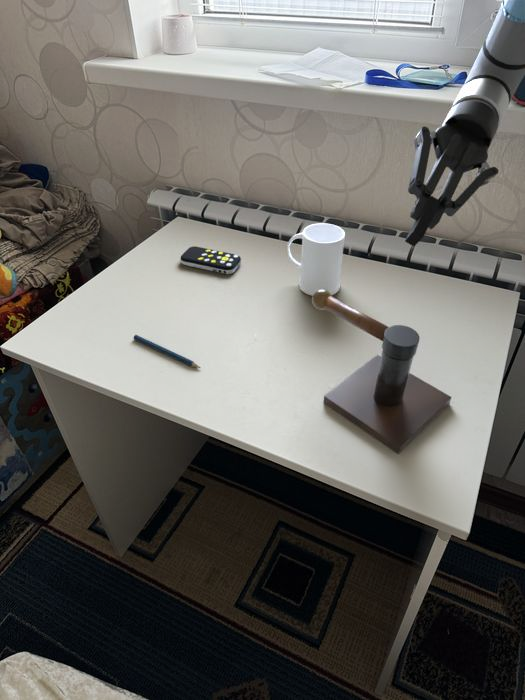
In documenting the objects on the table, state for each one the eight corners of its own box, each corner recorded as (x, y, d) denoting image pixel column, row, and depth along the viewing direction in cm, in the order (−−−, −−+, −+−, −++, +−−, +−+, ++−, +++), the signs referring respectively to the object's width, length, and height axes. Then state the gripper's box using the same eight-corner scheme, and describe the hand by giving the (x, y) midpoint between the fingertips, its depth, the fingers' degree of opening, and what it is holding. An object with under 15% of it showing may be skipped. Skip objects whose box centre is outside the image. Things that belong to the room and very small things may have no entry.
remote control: (191, 251, 115) (190, 243, 114) (243, 262, 112) (243, 254, 110) (178, 264, 111) (177, 256, 109) (231, 276, 107) (231, 268, 106)
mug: (277, 284, 105) (278, 231, 97) (298, 265, 111) (300, 214, 103) (328, 302, 100) (333, 248, 92) (347, 282, 106) (353, 229, 98)
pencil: (137, 337, 92) (202, 368, 86) (133, 340, 91) (199, 371, 85) (136, 333, 91) (202, 364, 85) (133, 336, 91) (198, 367, 85)
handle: (422, 350, 72) (427, 333, 70) (403, 366, 70) (407, 349, 68) (323, 297, 82) (325, 280, 80) (303, 309, 80) (304, 292, 78)
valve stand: (449, 403, 80) (468, 350, 72) (398, 454, 72) (413, 400, 65) (376, 360, 87) (386, 309, 80) (323, 402, 80) (329, 349, 72)
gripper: (495, 158, 79) (441, 275, 72) (423, 116, 79) (361, 228, 71) (527, 124, 72) (471, 250, 64) (448, 78, 72) (382, 199, 64)
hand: (413, 239), depth 68 cm, fingers closed
